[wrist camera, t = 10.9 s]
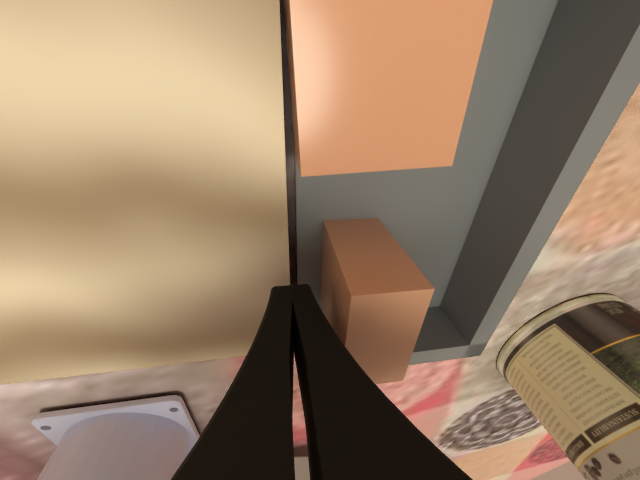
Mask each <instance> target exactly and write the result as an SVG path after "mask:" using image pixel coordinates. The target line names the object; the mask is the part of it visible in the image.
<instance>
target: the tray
mask: <svg viewBox="0 0 640 480" xmlns="http://www.w3.org/2000/svg"><path fill="white" fill-rule="evenodd" d="M639 83H640V0H493V3H492V7H491V11H490V15H489V19H488V23H487V27H486V31H485V35H484V40H483V44H482V48H481V52H480V56H479V60H478V64H477V68H476V72H475V76H474V80H473V84H472V88H471V92H470V96H469V100H468V104H467V108H466V112H465V116H464V120H463V124H462V128H461V132H460V136H459V140H458V144H457V148H456V152H455V156H454V160H453V164H452V166H443V167H430V168H416V169H402V170H388V171H374V172H361V173H347V174H333V175H319V176H305V177H301V174H300V171H299V167H298V164H297V161H296V158H295V207H296V259H297V285H299V284H308V285H309V286H310V287H311V290H312V292H313V295H314V297H315V299H316V301H317V303H318V305H319V306H320V308H321V310H322V305H321V300H320V296H321V269H322V243H323V221H325V220H348V219H370V218H378V219H379V220H380V221H381V222H382V224H383V225H384V226H385V227H386V228H387V230H388V231H389V232H390V233H391V235H392V236H393V237H394V238H395V240H396V241H397V242H398V243H399V245H400V246H401V247H402V248H403V250H404V251H405V252H406V253H407V255H408V256H409V257H410V258H411V260H412V261H413V262H414V263H415V265H416V266H417V267H418V268H419V270H420V271H421V272H422V273H423V274H424V276H425V277H426V278H427V279H428V281H429V282H430V283H431V284H432V286H433V287H434V288H435V290H434V292H433V295H432V298H431V301H430V304H429V307H428V310H427V313H426V315H425V318H424V321H423V324H422V327H421V330H420V333H419V336H418V338H417V341H416V344H415V347H414V350H413V353H412V356H411V358H410V361H409V364H408V365H413V364H420V363H428V362H435V361H442V360H450V359H457V358H465V357H472V356H480V355H481V353H482V351H483V350H484V348H485V346H486V344H487V343H488V341H489V339H490V338H491V336H492V334H493V332H494V331H495V329H496V327H497V326H498V324H499V322H500V320H501V319H502V317H503V315H504V314H505V312H506V310H507V308H508V307H509V305H510V303H511V302H512V300H513V298H514V297H515V295H516V293H517V291H518V290H519V288H520V286H521V285H522V283H523V281H524V279H525V278H526V276H527V274H528V273H529V271H530V269H531V267H532V266H533V264H534V262H535V261H536V259H537V257H538V255H539V254H540V252H541V250H542V249H543V247H544V245H545V243H546V242H547V240H548V238H549V237H550V235H551V233H552V231H553V230H554V228H555V226H556V225H557V223H558V221H559V220H560V218H561V216H562V214H563V213H564V211H565V209H566V208H567V206H568V204H569V202H570V201H571V199H572V197H573V196H574V194H575V192H576V190H577V189H578V187H579V185H580V184H581V182H582V180H583V178H584V177H585V175H586V173H587V172H588V170H589V168H590V166H591V165H592V163H593V161H594V160H595V158H596V156H597V154H598V153H599V151H600V149H601V148H602V146H603V144H604V142H605V141H606V139H607V137H608V136H609V134H610V132H611V131H612V129H613V127H614V125H615V124H616V122H617V120H618V119H619V117H620V115H621V113H622V112H623V110H624V108H625V107H626V105H627V103H628V101H629V100H630V98H631V96H632V95H633V93H634V91H635V89H636V88H637V86H638V84H639ZM294 155H295V146H294ZM322 312H323V310H322Z"/></svg>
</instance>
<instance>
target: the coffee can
mask: <svg viewBox="0 0 640 480" xmlns="http://www.w3.org/2000/svg"><path fill="white" fill-rule="evenodd" d="M497 369H498V371H499V373H500V374H501V375H502V376H503V377H505V379H506V380H507V381H508V382H509V384H510V385H511V386H512V387H513V389H514V390H515V391H516V392H517V394H518V395H519V396H520V397H521V399H522V400H523V401H524V402H525V404H526V405H527V406H528V408H529V409H530V410H531V411H532V413H533V414H534V415H535V416H536V418H537V419H538V420H539V421H540V423H541V424H542V425H543V426H544V428H545V429H546V430H547V431H548V433H549V434H550V435H551V436H552V438H553V439H554V440H555V441H556V443H557V444H558V445H559V446H560V448H561V449H562V450H563V452H564V453H565V454H566V455H567V457H568V458H569V459H570V460H571V462H572V463H573V464H574V466H575V467H576V468H577V469H578V471H579V472H580V473H581V474H582V476H583V477H584V478H585V479H586V480H640V311H638V310H637V309H635V308H633V307H632V306H630V305H628V304H627V303H626V302H625V301H624V300H622V299H621V298H619V297H617V296H614V295H610V294H593V295H587V296H583V297H579V298H575V299H571V300H568V301H566V302H564V303H561V304H559V305H556V306H554V307H552V308H550V309H548V310H547V311H545V312H543V313H541V314H540V315H538V316H536V317H535V318H533V319H532V320H531V321H529V322H528V323H526V324H525V325H524V326H522V327H521V328H520V329H519V330H518V331H517V332H516V333H515V334H514V335H513V336H512V337H511V338H510V339H509V340H508V341H507V342H506V344H505V345H504V346H503V348H502V349H501V351H500V354H499V356H498V358H497Z"/></svg>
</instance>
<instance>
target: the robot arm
mask: <svg viewBox="0 0 640 480" xmlns="http://www.w3.org/2000/svg"><path fill="white" fill-rule="evenodd" d="M294 355H295V361H296V367H297V373H298V379H299V386H300V392H301V398H302V404H303V410H304V417H305V425H306V435H307V447H308V459H309V471H310V480H473V479H471V478H470V477H469V476H468V475H467V474H466V473H465V472H463V471H462V470H461V469H460V468H459V467H458V466H457V465H456V464H455V463H453V462H452V461H451V460H450V459H449V458H448V457H447V456H446V455H445V454H444V453H442V452H441V451H440V450H439V449H438V448H437V447H436V446H435V445H434V444H433V443H432V442H431V441H430V440H429V439H428V438H427V437H426V436H425V435H423V434H422V433H421V432H420V431H419V430H418V429H417V428H416V427H415V426H414V425H413V424H412V423H411V422H410V421H409V420H408V418H407V417H406V416H405V415H404V414H403V413H402V412H401V411H400V410H399V409H398V408H397V407H396V406H395V405H394V404H393V403H392V402H391V401H390V400H389V399H388V398H387V397H386V396H385V395H384V393H383V392H382V391H381V390H380V389H379V388H378V387H377V386H376V384H375V383H374V382H373V381H372V380H371V379H370V378H369V376H368V375H367V374H366V373H365V371H364V370H363V369H362V368H361V367H360V365H359V364H358V363H357V362H356V360H355V359H354V358H353V356H352V355H351V354H350V353H349V351H348V350H347V348H346V347H345V346H344V344H343V343H342V341H341V340H340V339H339V337H338V336H337V334H336V333H335V331H334V330H333V328H332V326H331V325H330V323H329V322H328V320H327V319H326V317H325V315H324V314H323V312H322V310H321V308H320V306H319V305H318V303H317V301H316V299H315V297H314V295H313V292H312V290H311V287H310V286H309V285H308V284H299V285H287V286H274V287H273V288H272V289H271V292H270V297H269V301H268V304H267V308H266V310H265V313H264V316H263V319H262V321H261V324H260V326H259V329H258V331H257V334H256V336H255V338H254V341H253V343H252V345H251V347H250V349H249V351H248V353H247V355H246V358H245V360H244V362H243V364H242V366H241V368H240V369H239V371H238V373H237V375H236V377H235V379H234V381H233V383H232V384H231V386H230V388H229V390H228V391H227V393H226V395H225V397H224V398H223V400H222V402H221V403H220V405H219V407H218V408H217V410H216V412H215V413H214V415H213V416H212V418H211V420H210V421H209V423H208V425H207V426H206V428H205V429H204V431H203V432H202V434H201V436H200V435H199V433H198V431H197V429H196V427H195V425H194V422H193V420H192V418H191V416H190V414H189V412H188V410H187V408H186V405H185V403H184V401H183V399H182V398H181V397H180V396H178V395H169V396H162V397H154V398H147V399H139V400H132V401H124V402H117V403H109V404H102V405H94V406H87V407H79V408H72V409H64V410H57V411H49V412H42V413H39V414H37V415H35V417H34V418H33V419H32V421H31V424H32V425H33V426H34V427H35V428H36V429H37V430H38V431H40V432H41V433H42V434H43V435H44V436H45V437H47V438H48V439H49V440H50V441H51V442H53V443H54V444H55V445H56V446H57V447H56V448H55V450H54V452H53V453H52V455H51V457H50V458H49V460H48V461H47V463H46V465H45V466H44V468H43V470H42V471H41V473H40V475H39V476H38V478H37V479H36V480H295V470H294V450H293V428H292V410H293V364H294Z"/></svg>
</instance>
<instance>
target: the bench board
mask: <svg viewBox="0 0 640 480" xmlns="http://www.w3.org/2000/svg"><path fill="white" fill-rule="evenodd" d="M287 285H290V267H289V240H288V214H287V187H286V160H285V134H284V107H283V81H282V54H281V27H280V1H279V0H0V385H1V384H9V383H18V382H26V381H35V380H43V379H52V378H61V377H69V376H78V375H86V374H95V373H104V372H112V371H121V370H129V369H138V368H147V367H155V366H164V365H172V364H181V363H189V362H198V361H207V360H215V359H224V358H232V357H241V356H246V355H247V353H248V351H249V349H250V347H251V345H252V343H253V341H254V338H255V336H256V334H257V331H258V329H259V326H260V324H261V321H262V319H263V316H264V313H265V310H266V308H267V304H268V301H269V297H270V292H271V289H272V288H273V287H274V286H287Z"/></svg>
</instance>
